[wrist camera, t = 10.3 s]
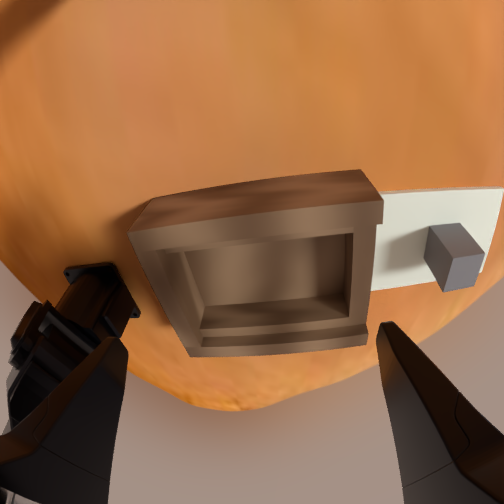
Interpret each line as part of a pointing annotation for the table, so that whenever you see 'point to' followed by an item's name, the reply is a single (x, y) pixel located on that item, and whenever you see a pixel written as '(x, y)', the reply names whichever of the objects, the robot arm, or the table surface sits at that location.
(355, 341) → the box
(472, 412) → the robot arm
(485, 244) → the cover
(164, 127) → the table surface
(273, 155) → the table surface
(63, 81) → the table surface
